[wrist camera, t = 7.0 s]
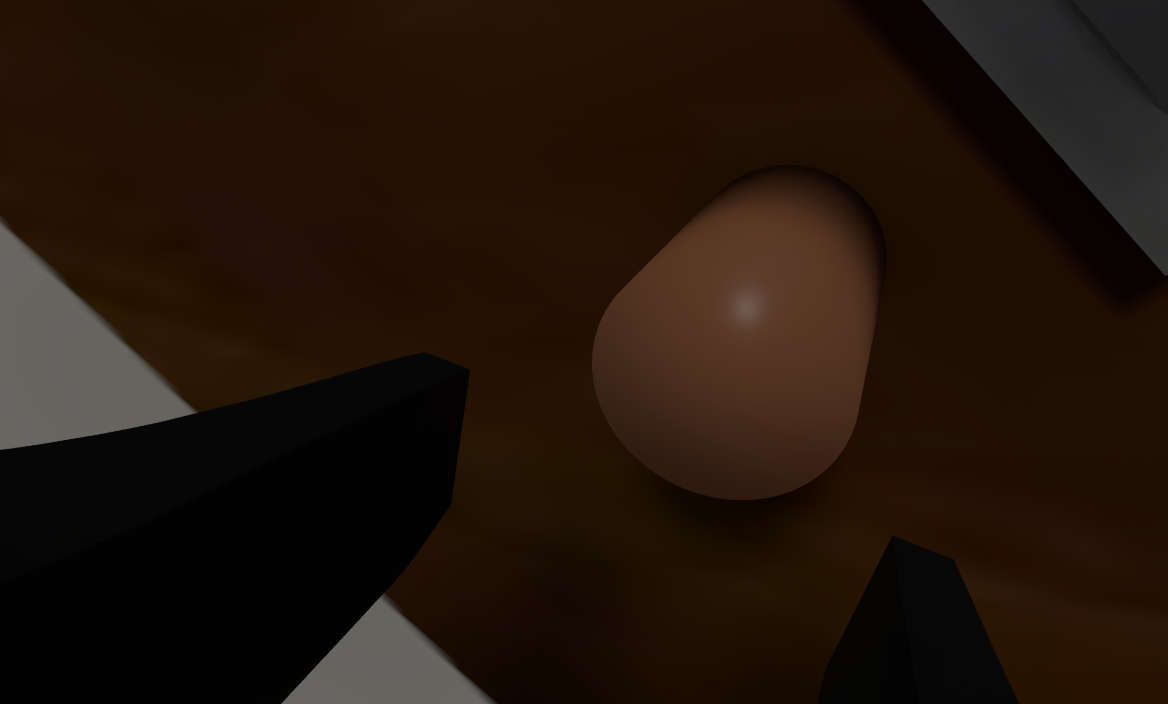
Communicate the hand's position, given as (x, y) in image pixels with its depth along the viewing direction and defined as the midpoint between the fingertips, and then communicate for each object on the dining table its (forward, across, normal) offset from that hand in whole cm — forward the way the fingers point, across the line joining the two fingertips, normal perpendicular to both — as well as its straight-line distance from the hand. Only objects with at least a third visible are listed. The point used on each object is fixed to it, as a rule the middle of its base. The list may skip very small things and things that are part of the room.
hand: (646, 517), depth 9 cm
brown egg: (+9, 0, 0) cm, 9 cm away
